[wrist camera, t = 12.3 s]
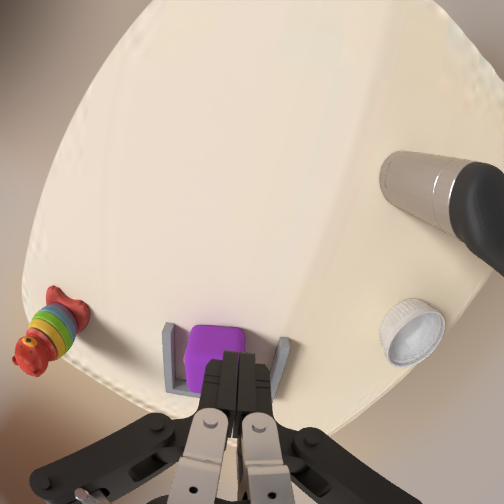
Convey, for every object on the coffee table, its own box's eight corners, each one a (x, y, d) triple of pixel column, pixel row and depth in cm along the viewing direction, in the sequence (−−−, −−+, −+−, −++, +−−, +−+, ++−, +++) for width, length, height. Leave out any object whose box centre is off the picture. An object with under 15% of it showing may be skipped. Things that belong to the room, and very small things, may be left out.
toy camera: (199, 375, 52) (192, 413, 43) (181, 322, 47) (169, 360, 38) (252, 372, 52) (253, 411, 42) (242, 317, 47) (241, 356, 38)
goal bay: (288, 337, 49) (290, 348, 46) (270, 394, 54) (271, 404, 52) (166, 322, 47) (162, 332, 44) (168, 382, 53) (165, 392, 50)
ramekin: (418, 279, 45) (438, 297, 39) (434, 320, 49) (450, 339, 43) (363, 320, 48) (376, 343, 42) (386, 356, 52) (398, 378, 45)
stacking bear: (91, 305, 46) (45, 365, 29) (87, 340, 49) (50, 399, 33) (49, 281, 44) (-4, 330, 28) (48, 318, 47) (5, 368, 31)
